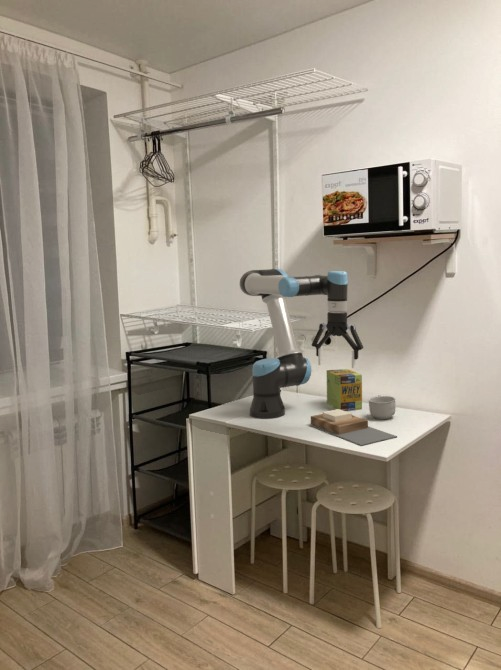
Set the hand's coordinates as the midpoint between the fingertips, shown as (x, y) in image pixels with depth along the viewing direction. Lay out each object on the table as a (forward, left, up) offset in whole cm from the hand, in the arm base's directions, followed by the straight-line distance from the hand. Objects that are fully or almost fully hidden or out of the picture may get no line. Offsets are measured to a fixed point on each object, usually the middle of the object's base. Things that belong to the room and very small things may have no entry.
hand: (336, 366), depth 225 cm
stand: (+1, 0, -24) cm, 24 cm away
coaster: (0, 0, -21) cm, 21 cm away
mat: (+9, 0, -24) cm, 26 cm away
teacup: (0, +23, -24) cm, 33 cm away
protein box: (-22, +21, -24) cm, 39 cm away
